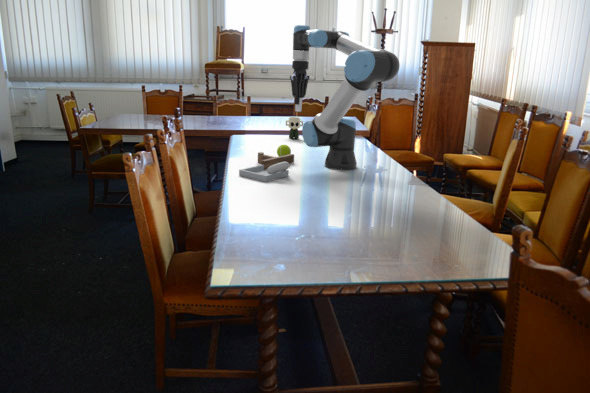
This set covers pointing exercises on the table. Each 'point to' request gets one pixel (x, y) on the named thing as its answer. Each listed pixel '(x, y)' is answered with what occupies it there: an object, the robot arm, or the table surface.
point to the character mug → (294, 126)
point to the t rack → (274, 159)
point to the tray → (261, 173)
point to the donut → (278, 167)
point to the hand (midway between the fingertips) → (298, 111)
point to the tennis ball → (283, 150)
